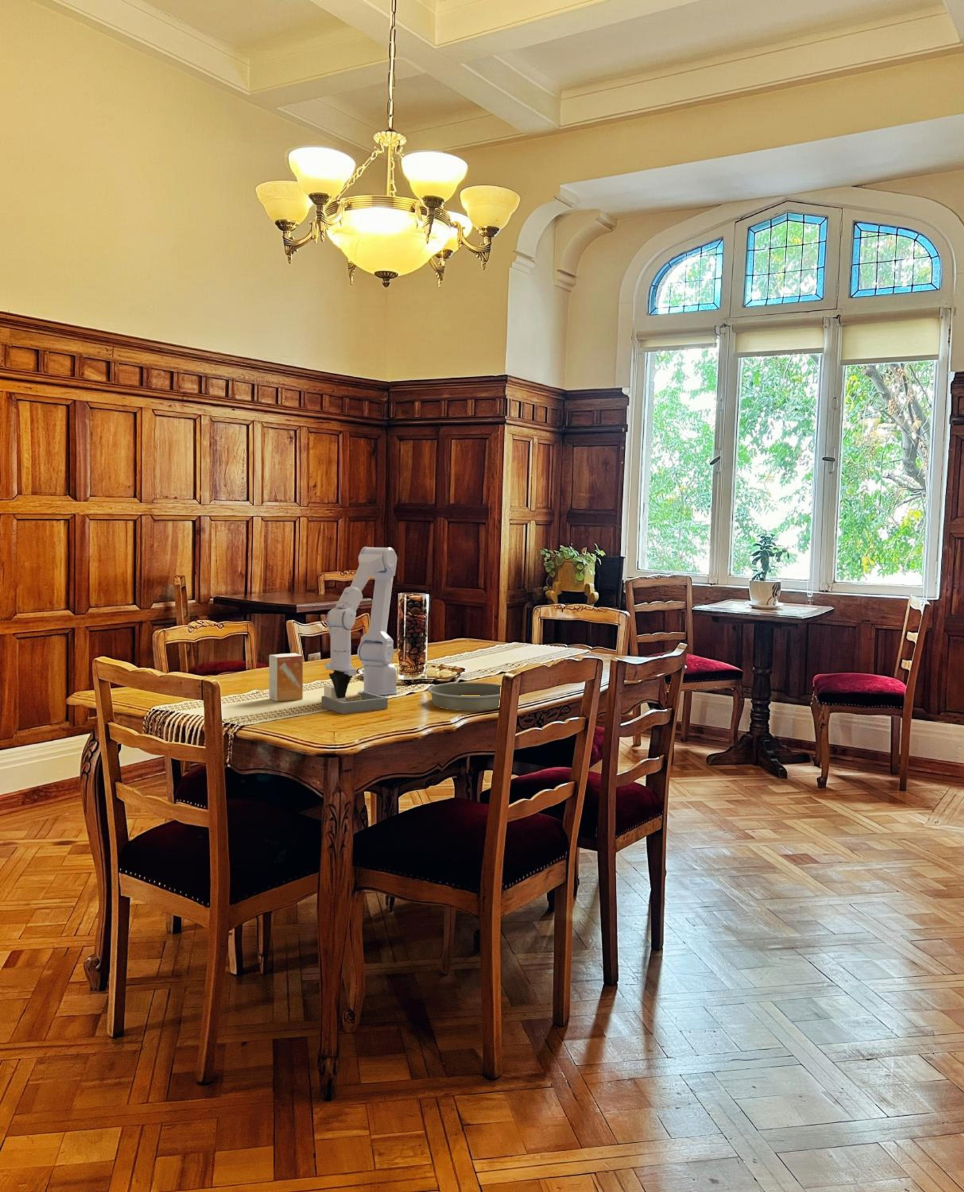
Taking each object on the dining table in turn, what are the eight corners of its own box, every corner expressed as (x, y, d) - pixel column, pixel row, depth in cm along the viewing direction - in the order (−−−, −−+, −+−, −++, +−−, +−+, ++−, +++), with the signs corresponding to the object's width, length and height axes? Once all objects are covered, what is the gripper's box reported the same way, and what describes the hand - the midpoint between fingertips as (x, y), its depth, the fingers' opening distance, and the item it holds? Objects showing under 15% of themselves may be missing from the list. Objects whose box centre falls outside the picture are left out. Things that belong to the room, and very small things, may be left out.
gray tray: (365, 701, 291) (365, 691, 291) (387, 708, 281) (387, 697, 280) (321, 706, 283) (321, 696, 282) (343, 714, 272) (342, 703, 272)
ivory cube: (338, 699, 294) (338, 684, 294) (345, 701, 290) (345, 686, 290) (324, 700, 291) (324, 685, 291) (331, 703, 288) (331, 687, 287)
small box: (277, 702, 289) (276, 657, 288) (268, 698, 294) (268, 654, 293) (303, 699, 294) (303, 655, 293) (294, 696, 299) (294, 652, 298)
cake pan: (530, 704, 290) (530, 689, 289) (467, 716, 273) (467, 699, 272) (472, 693, 307) (472, 678, 307) (409, 703, 291) (410, 687, 290)
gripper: (316, 648, 290) (316, 695, 291) (340, 654, 279) (340, 703, 280) (338, 646, 294) (338, 692, 295) (362, 652, 283) (362, 700, 284)
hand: (340, 697), depth 288 cm, fingers closed
